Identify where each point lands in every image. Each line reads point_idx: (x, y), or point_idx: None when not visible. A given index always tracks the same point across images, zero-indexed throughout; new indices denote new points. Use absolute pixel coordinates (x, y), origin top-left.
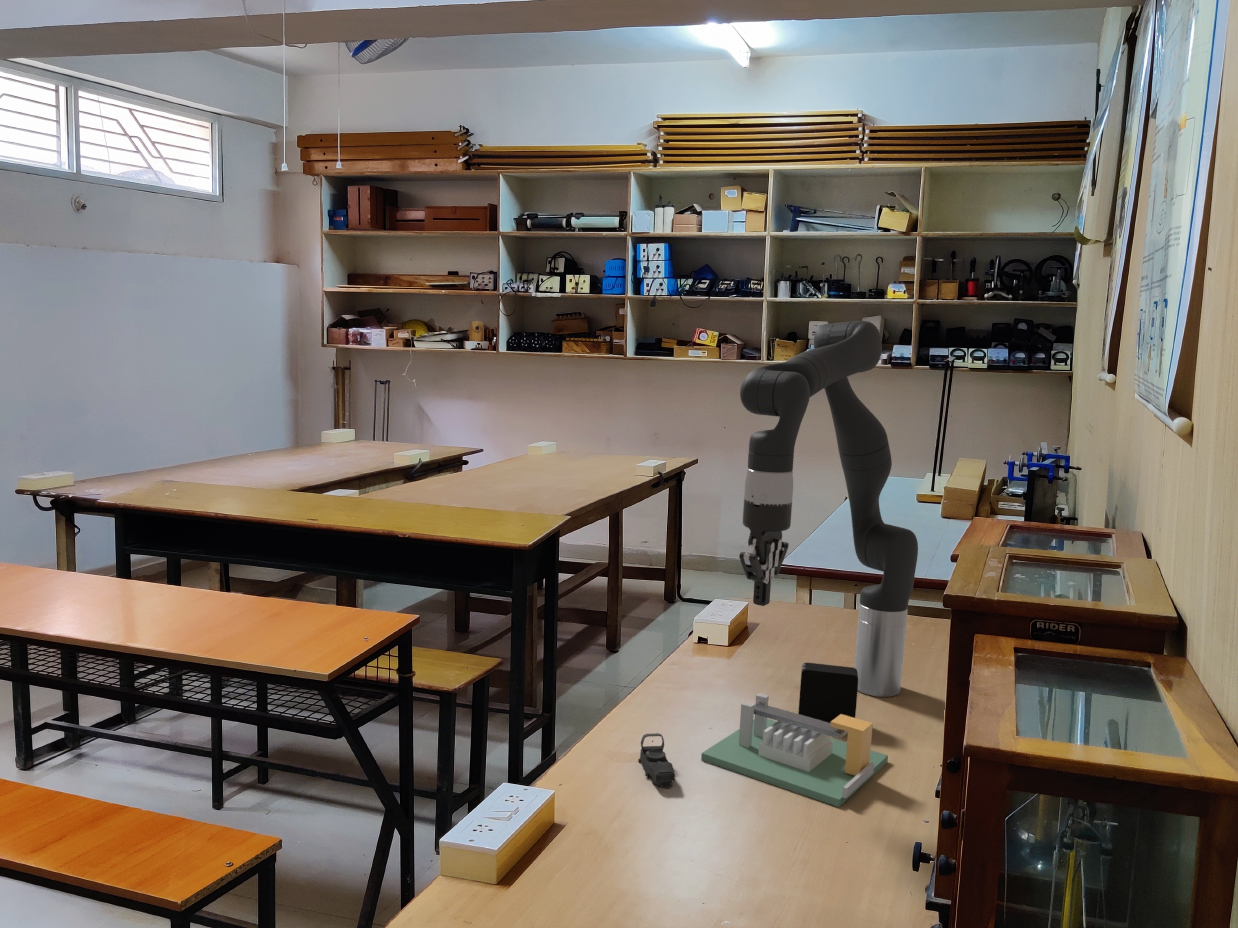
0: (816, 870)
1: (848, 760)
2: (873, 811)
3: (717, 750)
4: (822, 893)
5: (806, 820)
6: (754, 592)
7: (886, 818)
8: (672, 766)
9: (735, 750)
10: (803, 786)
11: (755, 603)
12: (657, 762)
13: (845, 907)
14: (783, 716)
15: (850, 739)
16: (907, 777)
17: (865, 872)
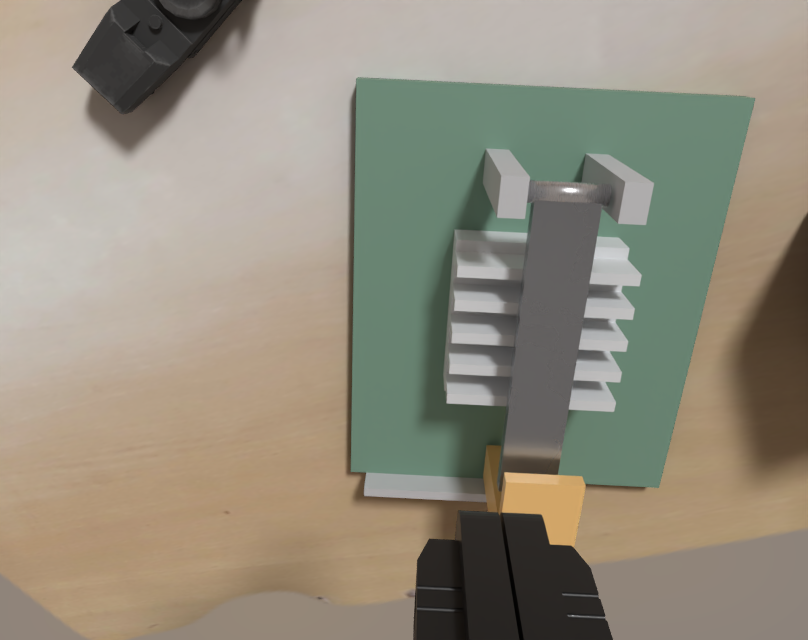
0: (90, 502)
1: (489, 471)
2: (383, 516)
3: (406, 112)
4: (35, 531)
5: (248, 429)
6: (416, 613)
7: (372, 541)
8: (153, 82)
9: (442, 159)
10: (356, 391)
11: (457, 523)
12: (148, 19)
13: (30, 568)
14: (529, 316)
15: (494, 511)
16: (591, 527)
17: (153, 563)
